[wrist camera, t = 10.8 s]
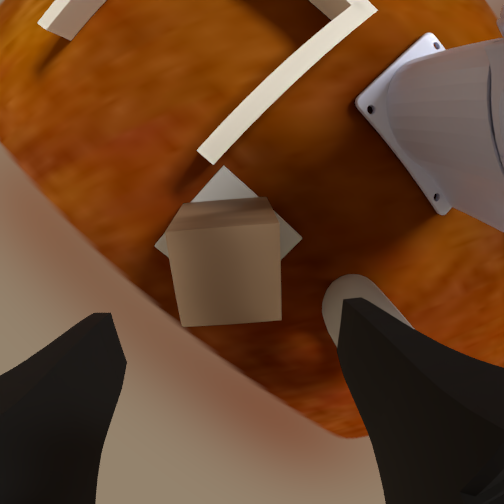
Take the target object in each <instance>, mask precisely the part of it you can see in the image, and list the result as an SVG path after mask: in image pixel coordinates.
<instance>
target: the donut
mask: <svg viewBox="0 0 504 504" xmlns="http://www.w3.org/2000/svg"><path fill="white" fill-rule="evenodd" d="M359 297H362V298H364V299H366V300H368V301H369V302H371V303H373V304H374V305H376V306H378V307H379V308H381V309H382V310H384V311H386V312H387V313H389V314H390V315H392V316H394V317H395V318H397V319H398V320H400V321H402V322H403V323H405V324H406V325H408V326H410V327H411V328H413V327H412V326H411V324H410V323H409V322H408V321H407V320H406V319H405V317H404V316H403V315H402V314H401V313H400V312H399V310H398V309H397V308H396V307H395V306H394V305H393V304H392V302H391V301H390V300H389V299H388V298H387V297H386V296H385V295H384V293H383V292H382V291H381V290H380V289H379V288H378V287H377V286H376V285H375V284H374V283H373V282H372V281H371V280H370V279H368V278H367V277H365V276H362V275H359V274H347V275H344V276H341V277H339V278H338V279H336V280H335V281H333V282H332V283H331V285H330V286H329V287H328V288H327V290H326V293H325V296H324V298H323V302H322V315H323V318H324V322H325V324H326V327H327V330H328V333H329V334H330V336H331V338H332V340H333V341H334V343H335V345H336V347H337V346H338V338H339V331H340V322H341V314H342V304H343V299H350V298H359ZM413 329H414V328H413Z"/></svg>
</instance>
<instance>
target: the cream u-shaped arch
mask: <svg viewBox="0 0 504 504" xmlns="http://www.w3.org/2000/svg"><path fill="white" fill-rule="evenodd" d="M105 1H106V0H55V1H54V3H53V4H52V5H51V6H50V7H49V9H48V10H47V11H46V12H45V14H44V15H43V16H42V17H41V19H40V20H39V21H38V24H39V25H40V26H42V27H43V28H44V29H46V30H48V31H50V32H52V33H55V34H57V35H59V36H61V37H64V38H66V39H68V40H70V41H71V40H72V39H73V38H74V37H75V35H76V34H77V33H78V32H79V30H80V29H81V28H82V27H83V26H84V25H85V23H86V22H87V21H88V20H89V19H90V18H91V17H92V15H93V14H94V13H95V12H96V11H97V10H98V9H99V8H100V7H101V6H102V5H103V3H104V2H105ZM309 1H310V2H311V3H312V4H313V5H315V6H316V7H317V8H318V9H319V10H320V11H322V12H323V13H324V14H325V15H326V16H327V17H328V18H329V19H330V20H332V21H331V22H330V23H328V24H327V25H326V26H325V27H324V28H322V29H321V30H320V31H319V32H317V33H316V34H315V35H314V36H313V37H312V38H310V39H309V40H308V41H307V42H306V43H305V44H303V45H302V46H301V47H300V48H299V49H298V50H297V51H295V52H294V53H293V54H292V55H291V56H290V57H289V58H288V59H287V60H285V61H284V62H283V63H282V64H281V65H280V66H279V67H278V68H277V69H276V70H275V71H274V72H272V73H271V74H270V75H269V76H268V77H267V78H266V79H265V80H264V81H263V82H262V83H261V84H260V85H259V86H258V87H257V88H256V89H255V90H254V91H253V92H252V93H251V94H250V95H249V96H248V97H247V98H246V99H245V100H244V101H243V102H242V103H241V104H240V105H239V106H238V107H237V108H236V109H235V110H234V111H233V112H232V113H231V114H230V115H229V116H228V117H227V118H226V119H225V120H224V121H223V122H222V123H221V124H220V125H219V127H218V128H217V129H216V130H215V131H214V132H213V133H212V134H211V135H210V136H209V137H208V138H207V140H206V141H205V142H204V143H203V144H202V145H201V146H200V147H199V148H198V150H197V151H198V152H199V153H200V154H201V155H202V156H203V157H205V158H206V159H207V160H208V161H209V162H210V163H211V164H213V165H214V164H215V163H216V162H217V160H218V159H219V158H220V157H221V156H222V155H223V154H224V153H225V152H226V151H227V150H228V149H229V148H230V146H231V145H232V144H233V143H234V142H235V141H236V140H237V139H238V138H239V137H240V136H241V135H242V134H243V133H244V132H245V131H246V130H247V129H248V128H249V127H250V126H251V125H252V123H253V122H254V121H255V120H256V119H257V118H258V117H259V116H260V115H261V114H262V113H263V112H264V111H265V110H266V109H267V108H268V107H269V106H270V105H271V104H272V103H273V102H274V101H275V100H277V99H278V98H279V97H280V96H281V95H282V94H283V93H284V92H285V91H286V90H287V89H288V88H289V87H290V86H291V85H292V84H293V83H294V82H295V81H296V80H297V79H298V78H300V77H301V76H302V75H303V74H304V73H305V72H306V71H307V70H308V69H309V68H310V67H311V66H313V65H314V64H315V63H316V62H317V61H318V60H319V59H320V58H321V57H323V56H324V55H325V54H326V53H327V52H328V51H329V50H331V49H332V48H333V47H334V46H335V45H336V44H337V43H339V42H340V41H341V40H342V39H343V38H344V37H346V36H347V35H348V34H349V33H350V32H352V31H353V30H354V29H355V28H356V27H358V26H359V25H360V24H361V23H363V22H364V21H365V20H366V19H367V18H369V17H370V16H371V15H373V14H374V13H375V12H376V11H378V10H377V9H376V8H375V7H374V6H373V5H372V4H371V3H370V2H369V1H368V0H309Z"/></svg>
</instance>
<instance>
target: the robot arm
mask: <svg viewBox="0 0 504 504" xmlns="http://www.w3.org/2000/svg"><path fill="white" fill-rule="evenodd" d="M500 16H501V18H499V19H498V20H497V26H498V28H499V30H500V32H501V34H502V36H503V37H504V5H503V6H502V10H501V14H500ZM433 43H434V44H435V45H436V49H435V48H434V45H433ZM355 106H356V107H357V109H358V110H359V111H360V112H361V113H362V115H363V116H364V117H365V118H366V119H367V120H368V121H369V123H370V124H371V125H372V126H373V127H374V129H375V130H376V131H377V132H378V133H379V134H380V136H381V137H382V138H383V139H384V141H385V142H386V143H387V144H388V146H389V147H390V148H391V149H392V151H393V152H394V153H395V154H396V156H397V157H398V158H399V160H400V161H401V162H402V164H403V165H404V166H405V168H406V169H407V170H408V172H409V173H410V174H411V176H412V177H413V179H414V180H415V181H416V183H417V184H418V186H419V187H420V188H421V190H422V191H423V193H424V194H425V196H426V197H427V199H428V200H429V202H430V203H431V205H432V206H433V208H434V209H435V211H436V212H437V213H438V214H440V215H445V214H446V213H447V212H448V211H449V210H450V209H451V208H452V207H453V208H455V209H458V210H460V211H462V212H464V213H466V214H468V215H470V216H472V217H474V218H476V219H478V220H480V221H482V222H484V223H486V224H488V225H490V226H492V227H494V228H496V229H498V230H500V231H502V232H504V38H498V39H493V40H488V41H483V42H478V43H473V44H469V45H464V46H460V47H456V48H452V49H448V50H445V48H444V47H443V46H442V44H441V43H440V42H439V40H438V39H437V38H436V37H435V36H434V35H433V34H432V33H426V34H424V35H423V36H421V37H420V38H419V39H418V40H417V41H416V42H415V43H414V44H413V45H412V46H410V47H409V48H408V49H407V50H406V51H405V52H404V53H403V54H402V55H401V56H400V57H399V58H397V59H396V60H395V61H394V62H393V63H392V64H391V65H390V66H389V67H388V68H387V69H386V70H385V71H384V72H383V73H381V74H380V75H379V76H378V77H377V78H376V79H375V80H374V81H373V82H372V83H371V84H370V85H369V86H368V87H367V88H366V89H365V90H364V91H363V92H362V93H361V94H359V95H358V96H357V98H356V99H355ZM368 106H371V107H372V109H373V112H372V114H369V113H368V111H367V107H368ZM435 194H437V196H436V199H434V195H435ZM337 354H338V357H339V361H340V365H341V368H342V372H343V375H344V378H345V380H346V383H347V385H348V387H349V390H350V392H351V394H352V397H353V399H354V401H355V403H356V406H357V408H358V410H359V413H360V415H361V417H362V420H363V422H364V424H365V427H366V429H367V431H368V434H369V437H370V440H371V442H372V445H373V449H374V453H375V457H376V461H377V464H378V468H379V472H380V477H381V481H382V485H383V490H384V496H385V501H386V504H504V368H502V367H499V366H496V365H492V364H489V363H486V362H483V361H480V360H477V359H475V358H472V357H469V356H467V355H465V354H462V353H460V352H458V351H455V350H453V349H451V348H449V347H447V346H444V345H442V344H440V343H438V342H437V341H435V340H433V339H431V338H429V337H427V336H425V335H424V334H422V333H420V332H418V331H417V330H415V329H413V328H411V327H410V326H408V325H406V324H405V323H403V322H402V321H400V320H398V319H397V318H395V317H394V316H392V315H390V314H389V313H387V312H386V311H384V310H382V309H381V308H379V307H378V306H376V305H374V304H373V303H371V302H369V301H368V300H366V299H364V298H362V297H359V298H350V299H343V304H342V314H341V322H340V331H339V338H338V346H337ZM126 364H127V361H126V359H125V356H124V353H123V350H122V347H121V344H120V341H119V338H118V335H117V332H116V329H115V326H114V323H113V319H112V315H111V313H93V314H91V315H90V316H88V317H86V318H85V319H83V320H82V321H80V322H79V323H77V324H76V325H75V326H73V327H72V328H70V329H69V330H68V331H66V332H65V333H64V334H62V335H61V336H60V337H58V338H57V339H55V340H54V341H53V342H51V343H50V344H49V345H47V346H46V347H44V348H43V349H42V350H40V351H39V352H37V353H36V354H34V355H33V356H31V357H30V358H29V359H27V360H26V361H24V362H22V363H21V364H19V365H18V366H16V367H14V368H13V369H11V370H9V371H8V372H6V373H4V374H2V375H0V504H95V499H96V487H97V477H98V471H99V464H100V458H101V453H102V448H103V444H104V441H105V438H106V435H107V431H108V428H109V425H110V422H111V419H112V416H113V413H114V410H115V407H116V404H117V401H118V398H119V395H120V392H121V389H122V385H123V380H124V374H125V369H126Z"/></svg>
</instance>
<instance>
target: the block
mask: <svg viewBox="0 0 504 504" xmlns="http://www.w3.org/2000/svg"><path fill="white" fill-rule="evenodd" d="M165 236H166V243H167V249H168V255H169V261H170V267H171V273H172V278H173V284H174V289H175V295H176V300H177V305H178V310H179V315H180V320H181V325H182V327H192V326H211V325H227V324H242V323H255V322H267V321H278V320H282V309H281V257H280V223H279V221H278V219H277V217H276V215H275V213H274V211H273V209H272V207H271V205H270V203H269V201H268V199H267V197H254V198H240V199H226V200H214V201H202V202H191V203H183V205H182V206H181V208H180V209H179V211H178V212H177V214H176V215H175V217H174V218H173V220H172V222H171V223H170V225H169V226H168V228H167V229H166V231H165Z"/></svg>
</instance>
